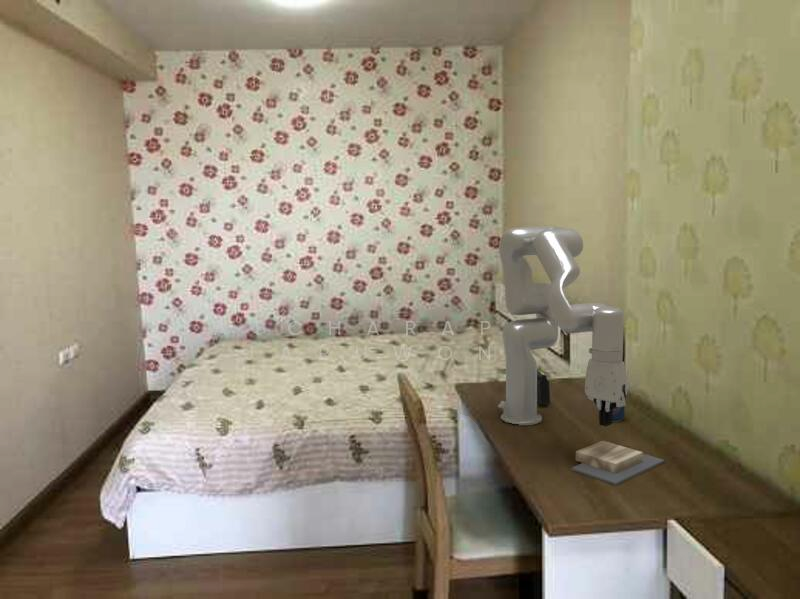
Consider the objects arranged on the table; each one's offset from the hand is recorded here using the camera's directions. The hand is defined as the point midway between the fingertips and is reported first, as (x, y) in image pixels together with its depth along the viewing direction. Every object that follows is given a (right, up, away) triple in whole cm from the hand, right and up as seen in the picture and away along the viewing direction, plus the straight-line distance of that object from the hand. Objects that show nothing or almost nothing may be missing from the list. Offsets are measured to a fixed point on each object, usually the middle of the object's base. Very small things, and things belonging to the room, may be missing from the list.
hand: (605, 424), depth 184 cm
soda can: (+13, -5, +36) cm, 39 cm away
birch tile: (-3, -8, +5) cm, 10 cm away
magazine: (-6, -1, +64) cm, 65 cm away
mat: (+3, -10, -2) cm, 11 cm away
